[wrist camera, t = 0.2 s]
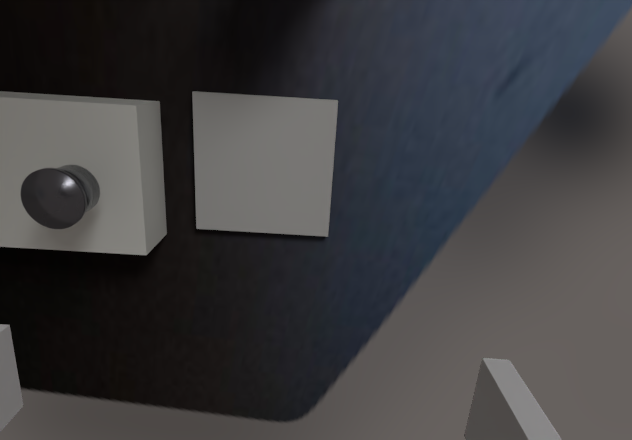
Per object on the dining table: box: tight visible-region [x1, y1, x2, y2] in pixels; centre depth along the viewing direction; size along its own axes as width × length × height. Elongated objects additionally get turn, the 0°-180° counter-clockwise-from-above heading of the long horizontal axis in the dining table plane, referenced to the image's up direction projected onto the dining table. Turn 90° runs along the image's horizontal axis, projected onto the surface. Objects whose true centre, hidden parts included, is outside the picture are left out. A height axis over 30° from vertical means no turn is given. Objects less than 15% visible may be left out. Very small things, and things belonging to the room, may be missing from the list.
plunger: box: [21, 165, 100, 229], centre depth 31 cm, size 4×4×3 cm
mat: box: [192, 91, 338, 237], centre depth 38 cm, size 12×12×1 cm
